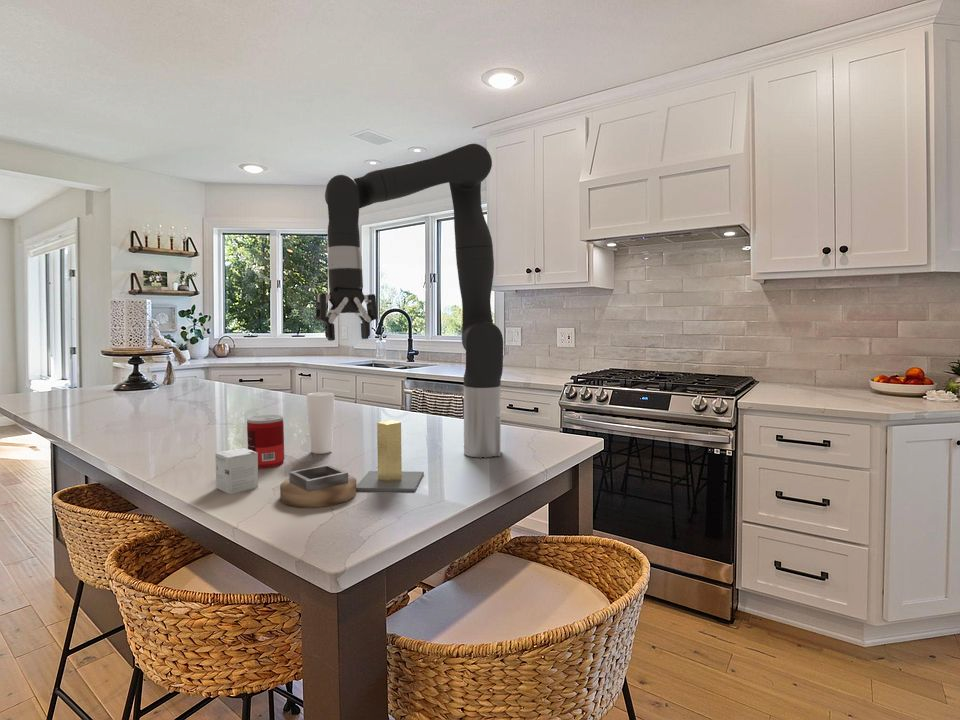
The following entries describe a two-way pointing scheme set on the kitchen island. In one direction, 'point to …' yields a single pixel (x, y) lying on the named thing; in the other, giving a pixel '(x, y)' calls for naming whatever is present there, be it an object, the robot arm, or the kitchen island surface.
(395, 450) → the brass bar
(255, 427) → the canned food
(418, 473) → the mat
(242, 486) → the skincare box
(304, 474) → the copper round socket base
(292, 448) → the kitchen island surface
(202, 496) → the kitchen island surface
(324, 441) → the drinking glass
